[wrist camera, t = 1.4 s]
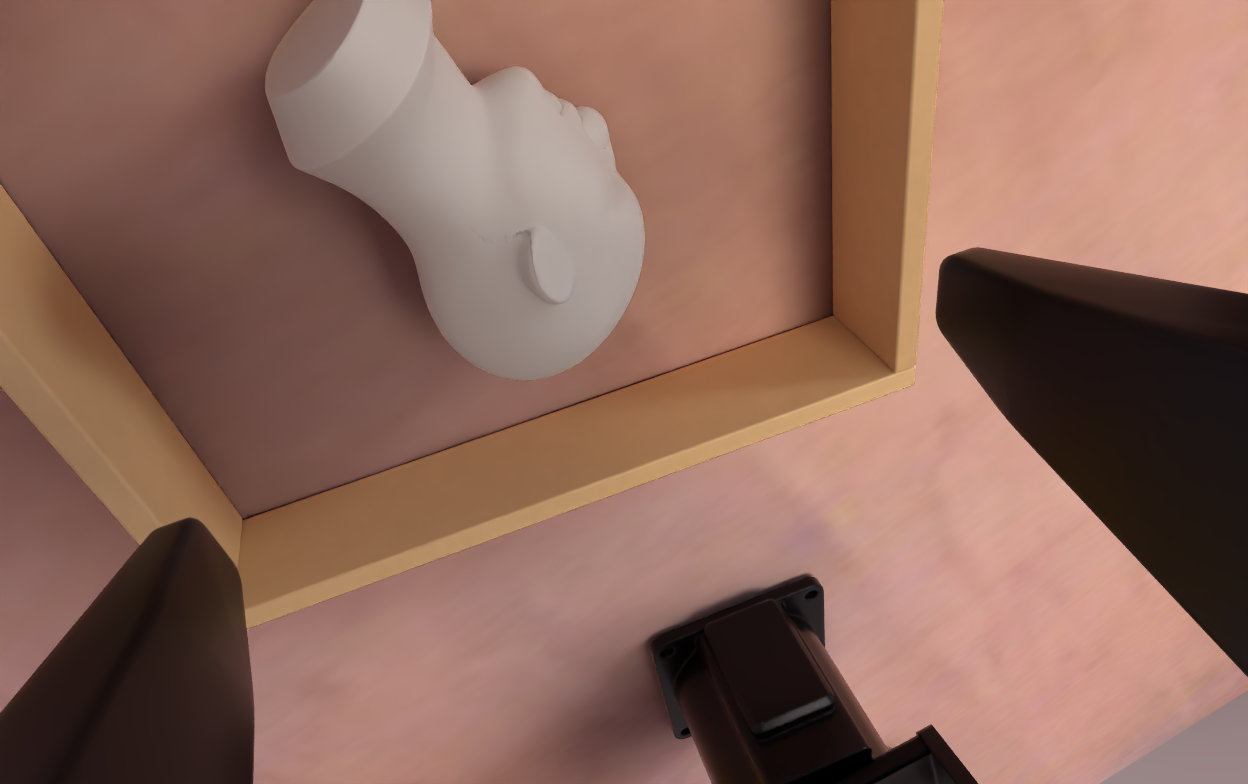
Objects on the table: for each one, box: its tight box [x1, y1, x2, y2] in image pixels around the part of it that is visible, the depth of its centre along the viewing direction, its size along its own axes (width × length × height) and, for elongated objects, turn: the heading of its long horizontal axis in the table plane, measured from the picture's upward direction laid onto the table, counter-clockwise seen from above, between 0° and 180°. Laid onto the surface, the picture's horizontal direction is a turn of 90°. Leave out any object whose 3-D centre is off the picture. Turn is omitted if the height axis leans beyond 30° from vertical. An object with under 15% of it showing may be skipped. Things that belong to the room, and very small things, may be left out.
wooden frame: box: [0, 0, 944, 629], centre depth 15 cm, size 15×17×3 cm
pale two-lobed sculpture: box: [265, 0, 645, 381], centre depth 14 cm, size 4×8×5 cm
